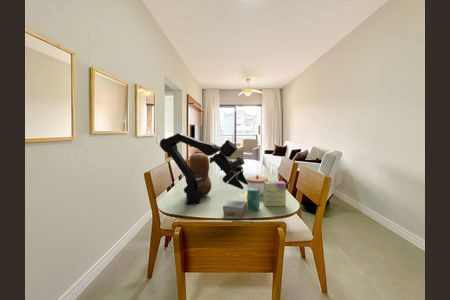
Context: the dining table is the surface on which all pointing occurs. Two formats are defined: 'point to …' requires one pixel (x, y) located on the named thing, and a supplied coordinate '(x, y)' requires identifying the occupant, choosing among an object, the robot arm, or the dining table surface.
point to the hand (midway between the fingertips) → (245, 186)
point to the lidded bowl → (256, 183)
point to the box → (274, 193)
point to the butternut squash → (201, 171)
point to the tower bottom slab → (235, 213)
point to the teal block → (253, 199)
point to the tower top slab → (235, 206)
